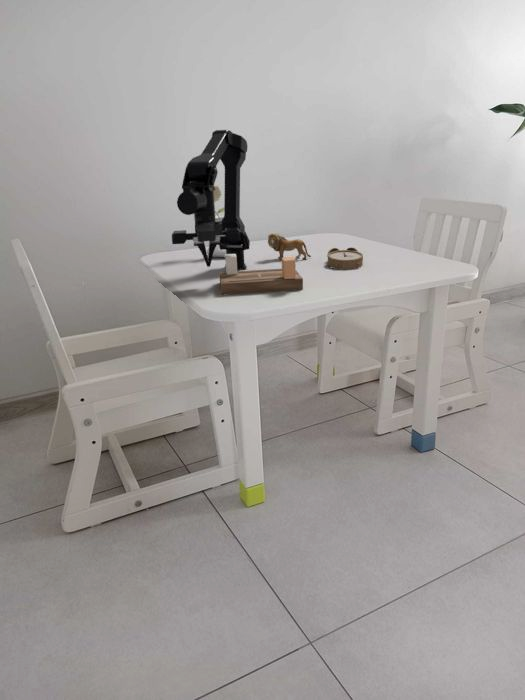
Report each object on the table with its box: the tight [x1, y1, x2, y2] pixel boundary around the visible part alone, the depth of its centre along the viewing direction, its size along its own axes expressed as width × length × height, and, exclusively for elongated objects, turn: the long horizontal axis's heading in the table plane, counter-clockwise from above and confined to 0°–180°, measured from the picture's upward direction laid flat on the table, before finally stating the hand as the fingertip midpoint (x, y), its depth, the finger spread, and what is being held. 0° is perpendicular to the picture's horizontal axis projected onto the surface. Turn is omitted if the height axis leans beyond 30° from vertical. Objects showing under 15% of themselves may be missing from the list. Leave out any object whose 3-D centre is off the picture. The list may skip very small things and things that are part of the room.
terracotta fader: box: [281, 256, 296, 279], centre depth 137 cm, size 4×3×5 cm
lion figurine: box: [267, 232, 312, 261], centre depth 172 cm, size 15×5×9 cm, turn 91°
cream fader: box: [224, 254, 238, 275], centre depth 144 cm, size 4×3×5 cm
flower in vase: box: [206, 184, 226, 258], centre depth 177 cm, size 13×11×25 cm
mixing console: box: [218, 268, 304, 296], centre depth 142 cm, size 13×22×3 cm, turn 97°
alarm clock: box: [327, 247, 364, 270], centre depth 164 cm, size 11×5×15 cm
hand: (208, 266), depth 143 cm, fingers closed
